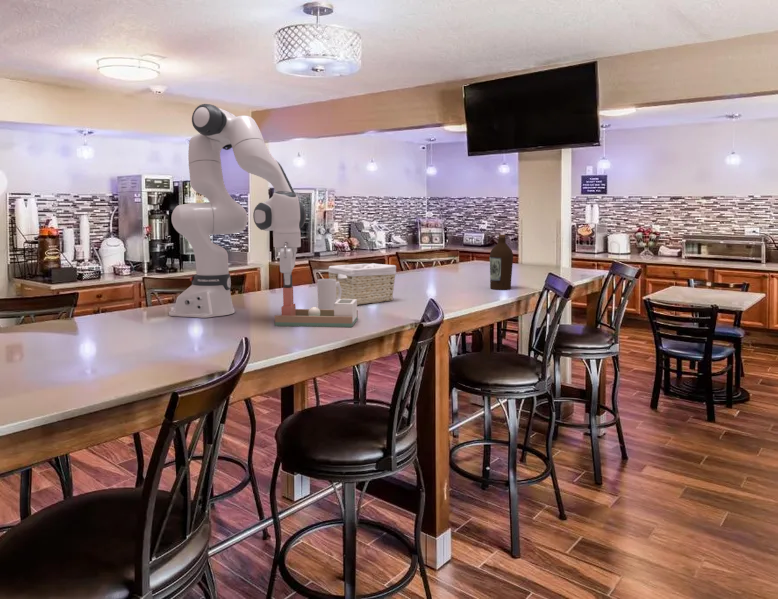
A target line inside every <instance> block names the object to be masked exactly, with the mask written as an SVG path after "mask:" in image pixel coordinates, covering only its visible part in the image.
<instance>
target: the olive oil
mask: <svg viewBox="0 0 778 599" xmlns="http://www.w3.org/2000/svg"><path fill="white" fill-rule="evenodd" d="M506 236H507V235H506V234H498V238H497V240H498V241H497V244H496V245H495V246H494V247H493V248H492V249H491V250H490V253H489V280H490V281H489V282H490V283H489V286H490V289H491V290H496V291H497V290H498V291H508V290H511V289H512V276H513V275H512V274H513V265H514V253H513V250H512V249H511V247H510V246H509V245H508V244H507V243H506V241H507V240H506Z"/></svg>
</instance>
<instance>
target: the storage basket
mask: <svg viewBox="0 0 778 599" xmlns="http://www.w3.org/2000/svg"><path fill="white" fill-rule="evenodd" d="M327 272H328V279H336V282H339V283H340V286H341V290H342V294H341V299H357V306H358V305H359V306H360V305H367V304H378V303H383V302H384V301H386V302H390V301H393V299H394V298H393V297H394V289H395V280H396V274H397V265H395V264H386V263H385V264H384V263H383V264H382V263H374V262H372V263H353V264H337V265H330V266H328V271H327ZM338 295H339V290H338V287H337V286H336V299H337V298H338Z"/></svg>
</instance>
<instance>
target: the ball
mask: <svg viewBox="0 0 778 599" xmlns="http://www.w3.org/2000/svg"><path fill="white" fill-rule="evenodd" d="M308 309H309V311H308V315H309V316H320V310H319V308H318V306H317V307H316V306H312V307H310V308H308Z"/></svg>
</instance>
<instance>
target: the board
mask: <svg viewBox="0 0 778 599" xmlns="http://www.w3.org/2000/svg"><path fill="white" fill-rule="evenodd" d="M295 309H296V316H282V314H281V315H278V314H277V315H274V327H312V328H313V327H314V328H315V327H318V328H320V327H322V328H353V327H354V325H355V323H356V322H357V321H358V319H359V316H358V315H359V313H358V312H359V311H358V305H357V299H339V300H337V301H336V302H335V303H334V310H326V309H319V310H320V316H309V315H308V311H309V309H310V308H307V309H306V308H295Z"/></svg>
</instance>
